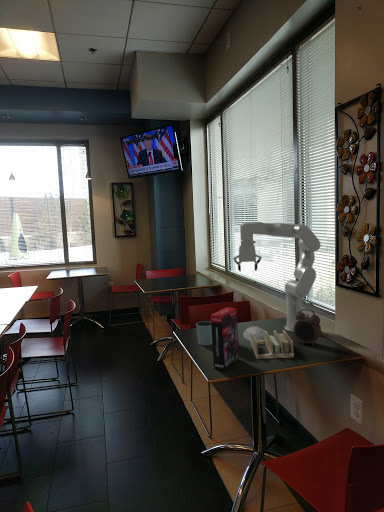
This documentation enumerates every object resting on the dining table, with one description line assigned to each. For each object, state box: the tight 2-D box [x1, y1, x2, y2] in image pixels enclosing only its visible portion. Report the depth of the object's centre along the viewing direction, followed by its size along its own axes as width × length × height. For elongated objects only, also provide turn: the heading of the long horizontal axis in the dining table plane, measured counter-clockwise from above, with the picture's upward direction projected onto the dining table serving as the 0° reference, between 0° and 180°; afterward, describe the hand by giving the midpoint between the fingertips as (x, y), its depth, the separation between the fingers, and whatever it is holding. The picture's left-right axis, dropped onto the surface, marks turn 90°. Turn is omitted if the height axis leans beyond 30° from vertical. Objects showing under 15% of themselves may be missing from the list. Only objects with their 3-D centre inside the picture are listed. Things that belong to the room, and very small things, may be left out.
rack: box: [250, 329, 295, 360], centre depth 201 cm, size 19×22×8 cm
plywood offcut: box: [277, 333, 289, 353], centre depth 201 cm, size 2×15×7 cm, turn 179°
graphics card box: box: [210, 307, 240, 371], centre depth 184 cm, size 17×7×27 cm, turn 148°
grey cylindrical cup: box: [195, 320, 212, 346], centre depth 217 cm, size 10×10×12 cm
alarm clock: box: [294, 308, 322, 347], centre depth 208 cm, size 15×7×20 cm, turn 47°
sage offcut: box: [268, 334, 280, 354], centre depth 201 cm, size 2×16×6 cm, turn 1°
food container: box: [242, 325, 266, 342], centre depth 225 cm, size 16×25×7 cm, turn 13°
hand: (247, 270), depth 225 cm, fingers open, 9 cm apart
